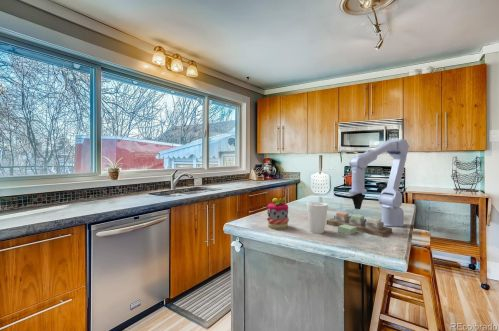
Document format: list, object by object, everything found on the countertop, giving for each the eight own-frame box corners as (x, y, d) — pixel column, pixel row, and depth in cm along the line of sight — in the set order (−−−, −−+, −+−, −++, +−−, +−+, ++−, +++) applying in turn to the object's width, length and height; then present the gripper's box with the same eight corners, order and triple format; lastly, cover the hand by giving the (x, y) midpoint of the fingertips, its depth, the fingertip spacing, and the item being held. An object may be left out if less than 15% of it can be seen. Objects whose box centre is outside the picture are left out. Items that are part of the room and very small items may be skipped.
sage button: (363, 222, 124) (364, 216, 124) (359, 223, 121) (359, 217, 121) (355, 220, 128) (355, 214, 127) (351, 221, 125) (351, 215, 125)
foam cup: (323, 235, 113) (324, 206, 112) (303, 232, 117) (304, 204, 117) (329, 230, 121) (329, 203, 120) (310, 227, 126) (310, 201, 125)
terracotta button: (348, 219, 130) (348, 213, 130) (344, 220, 127) (344, 214, 127) (340, 217, 134) (340, 211, 134) (336, 218, 131) (336, 213, 131)
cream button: (381, 225, 118) (381, 219, 118) (377, 227, 115) (377, 220, 115) (371, 223, 122) (371, 217, 121) (367, 225, 119) (367, 218, 119)
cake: (263, 227, 125) (264, 197, 125) (272, 222, 134) (272, 194, 134) (284, 230, 120) (284, 199, 120) (291, 225, 129) (291, 196, 129)
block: (356, 232, 118) (356, 226, 118) (350, 234, 114) (350, 229, 114) (344, 229, 122) (344, 224, 122) (337, 231, 118) (338, 226, 118)
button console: (392, 232, 117) (392, 222, 117) (383, 236, 111) (383, 226, 111) (336, 220, 138) (336, 212, 138) (326, 224, 132) (326, 215, 132)
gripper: (357, 179, 132) (356, 205, 132) (342, 181, 122) (342, 209, 123) (370, 180, 126) (370, 208, 127) (357, 182, 117) (356, 212, 117)
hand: (357, 209), depth 124 cm, fingers closed
